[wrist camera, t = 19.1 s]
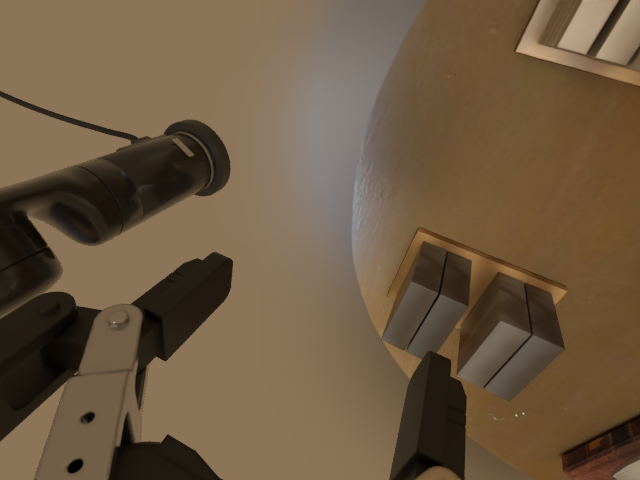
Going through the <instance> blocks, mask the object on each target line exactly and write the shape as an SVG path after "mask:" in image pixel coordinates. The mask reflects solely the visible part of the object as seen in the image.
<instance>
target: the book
mask: <svg viewBox="0 0 640 480" xmlns="http://www.w3.org/2000/svg"><path fill="white" fill-rule="evenodd" d="M562 463H563V470H564V472H565V474H566V475H567V477H568V478H569V477H570V478H571V479H572V480H640V418H638V419H636V420H634V421H632V422H630V423H628V424H626V425H624V426H622V427H620V428H618V429H616V430H614V431H612V432H610V433H608V434H606V435H604V436H602V437H600V438H598V439H596V440H594V441H592V442H590V443H588V444H586V445H584V446H582V447H580V448H578V449H576V450H574V451H572V452H570V453H568V454H566V455H564V456H562Z"/></svg>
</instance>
